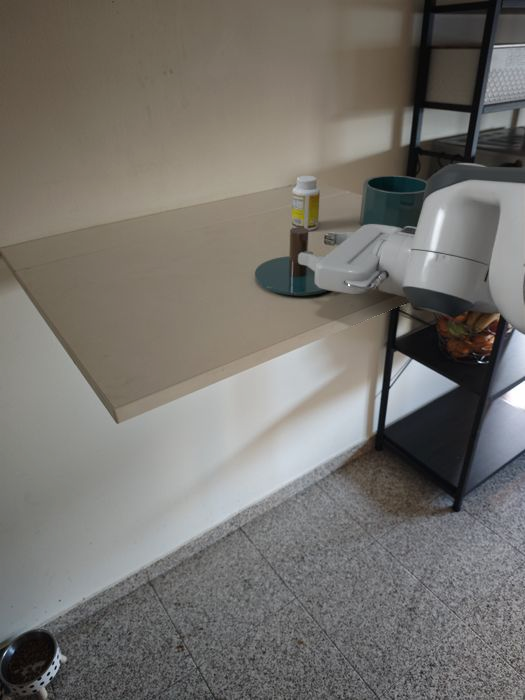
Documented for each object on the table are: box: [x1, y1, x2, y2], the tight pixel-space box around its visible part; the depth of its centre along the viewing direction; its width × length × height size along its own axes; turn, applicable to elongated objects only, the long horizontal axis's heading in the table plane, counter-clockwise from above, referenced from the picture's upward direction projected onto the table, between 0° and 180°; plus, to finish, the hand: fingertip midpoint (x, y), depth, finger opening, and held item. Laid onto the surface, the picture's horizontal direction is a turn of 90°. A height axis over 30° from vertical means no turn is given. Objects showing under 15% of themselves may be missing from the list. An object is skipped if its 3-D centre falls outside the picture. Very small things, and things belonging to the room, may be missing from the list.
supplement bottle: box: [291, 175, 321, 232], centre depth 103 cm, size 6×6×10 cm
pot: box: [359, 174, 427, 229], centre depth 105 cm, size 14×14×8 cm
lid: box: [254, 227, 330, 296], centre depth 83 cm, size 15×15×9 cm
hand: (313, 246), depth 80 cm, fingers open, 8 cm apart
